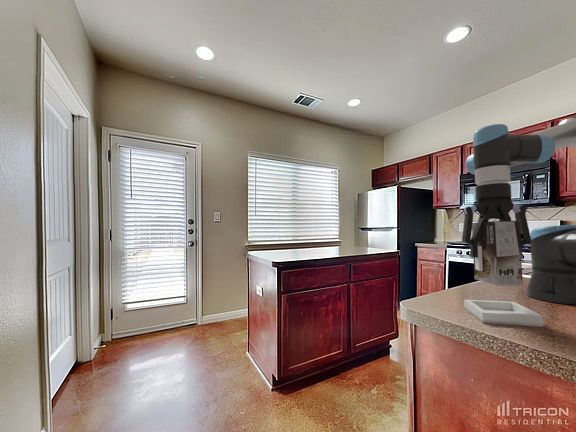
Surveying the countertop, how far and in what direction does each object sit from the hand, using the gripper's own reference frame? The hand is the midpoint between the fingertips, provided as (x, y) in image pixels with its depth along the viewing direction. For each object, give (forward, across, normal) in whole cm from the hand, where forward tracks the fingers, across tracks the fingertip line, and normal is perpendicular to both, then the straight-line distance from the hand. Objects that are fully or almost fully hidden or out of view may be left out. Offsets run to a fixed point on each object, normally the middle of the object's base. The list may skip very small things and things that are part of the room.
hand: (496, 270), depth 70 cm
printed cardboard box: (+3, 0, 0) cm, 3 cm away
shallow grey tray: (+12, 0, 0) cm, 12 cm away
